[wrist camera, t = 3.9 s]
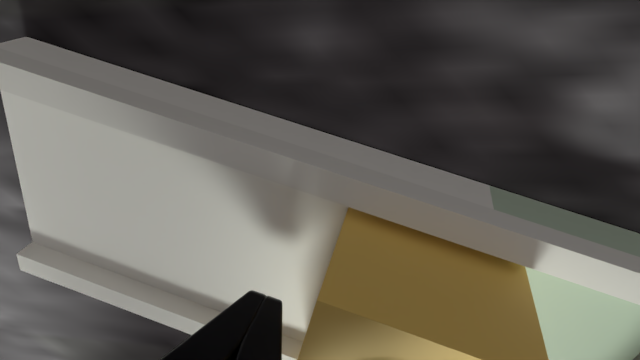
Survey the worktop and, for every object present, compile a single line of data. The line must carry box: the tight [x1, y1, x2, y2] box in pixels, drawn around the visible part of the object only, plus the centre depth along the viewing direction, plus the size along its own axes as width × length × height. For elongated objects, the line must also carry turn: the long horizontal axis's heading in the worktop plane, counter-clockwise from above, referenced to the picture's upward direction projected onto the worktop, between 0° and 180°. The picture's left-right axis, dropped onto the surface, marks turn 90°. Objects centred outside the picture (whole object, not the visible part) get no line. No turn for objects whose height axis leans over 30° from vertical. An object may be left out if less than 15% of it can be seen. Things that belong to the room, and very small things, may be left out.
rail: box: [0, 37, 640, 360], centre depth 10 cm, size 7×18×4 cm, turn 76°
